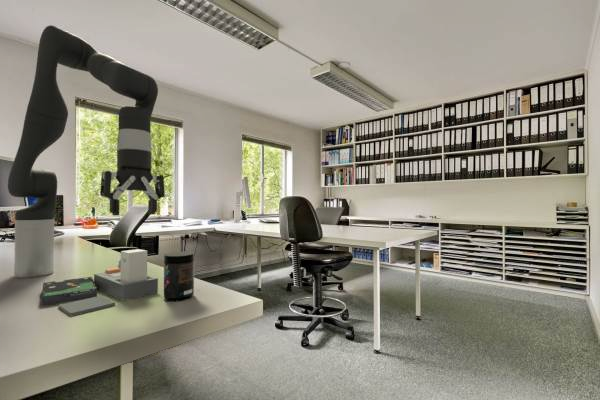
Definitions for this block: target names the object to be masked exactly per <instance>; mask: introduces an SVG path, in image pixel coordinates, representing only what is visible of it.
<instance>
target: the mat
mask: <svg viewBox="0 0 600 400" xmlns="http://www.w3.org/2000/svg"><path fill="white" fill-rule="evenodd" d="M114 306H116V302H115V301H113V300H111V299H109V298H106V297H104V296H102V295H99V296H98V295H97V297H93V298H88V299H84V300H78V301H71V302H66V303H59V304H58V307H57V308H58V309H59V310H61V311H62V312H64V313H65V314H66V315H68V316H70V317H73V316H77V315H83V314H86V313H90V312H95V311H98V310H102V309H105V308H106V309H107V308H110V307H114Z"/></svg>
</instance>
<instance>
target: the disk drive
mask: <svg viewBox="0 0 600 400" xmlns="http://www.w3.org/2000/svg"><path fill="white" fill-rule="evenodd" d="M40 295H41V296H40V297H41V300H40V301H41V303H40V304H41V307H47V306H51V305H57V304H58V305H60V304H65V303H70V302H74V301H79V300H84V299H88V298H93V297H97V296H98V289H97V287H96V285H95V283H94V277H92V276H87V277H79V278H71V279H70V278H69V279H64V280H63V281H48V282H47V281H46V282H43V283H42V290H41V294H40Z"/></svg>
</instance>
